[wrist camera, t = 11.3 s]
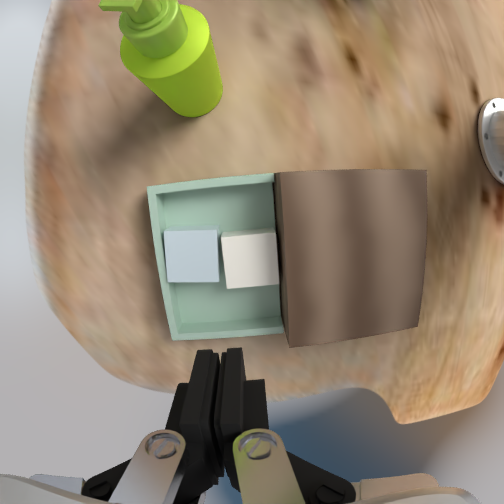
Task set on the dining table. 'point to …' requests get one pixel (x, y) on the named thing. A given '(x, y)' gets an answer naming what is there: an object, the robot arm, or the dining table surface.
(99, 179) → the dining table surface
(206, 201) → the box
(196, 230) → the pale blue square block
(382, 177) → the brown wooden block
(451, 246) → the dining table surface
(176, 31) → the soap dispenser
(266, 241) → the cream square block
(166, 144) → the dining table surface
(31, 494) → the robot arm
